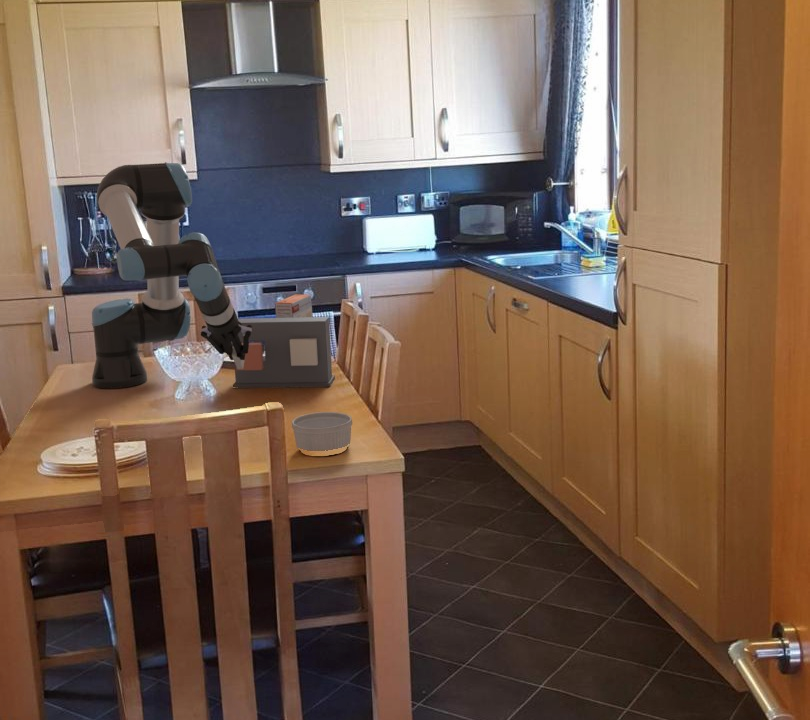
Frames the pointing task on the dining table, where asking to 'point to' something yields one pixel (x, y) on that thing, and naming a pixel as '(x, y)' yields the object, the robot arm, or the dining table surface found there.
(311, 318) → the box
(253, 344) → the brick button
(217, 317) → the robot arm
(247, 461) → the dining table surface
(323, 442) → the ramekin
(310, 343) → the cream button
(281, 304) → the cracker box
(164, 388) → the dining table surface
